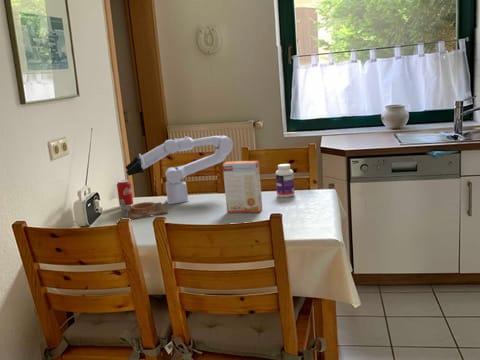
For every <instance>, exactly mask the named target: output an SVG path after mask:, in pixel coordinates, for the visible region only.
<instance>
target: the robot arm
mask: <svg viewBox="0 0 480 360" xmlns="http://www.w3.org/2000/svg"><path fill="white" fill-rule="evenodd" d="M210 145H211V146H213V147H216V148H215V151H214V153H213V154H211V155H207V156H204V157H202V158H200V159H197V160H194V161H192V162H189V163H187V164H184V165H179V166H175V167H174V166H171V167H168V168H167V169H166V170H165V173H164V175H165V177H166V178H165V180H166V181H165V190H166V191H165V192H166V199H165V202H166V203H167V205H174V204H180V203H186V202H189V195H188V188H187V183H186V181H182V180H183V179H184V178H186V177H188V176H189V175H192V174H195V173H197V172H199V171H202V170H205V169H207V168H210V167H213V166H215V165H217V164H220V163H222V162H224V160H225V159H226V157H227V156H228V155H229V154H230V153H231V152H232V150H233V147H234V142H233V140H232V139H231V138H230V137H228V136H227V135H223V134H222V135H212V136H205V137H201V138H199V137H198V138H194V139H193V138H192V137H190V136H188V135H187V136H184V137H181V138H177V137H176V138H173V139H166V140H165V141H164V142H163V143H162V144H160V145H157V146H155V148H153V149H151V150H149V151H148V152H145V153H144V154H141V153H139V154H138V156H139V157H138V156H137V155H136V156H135V157H134V158H133V160H132V161H131V162H129V163H128V164H127V165H126V166H125V168H126V171H125V172H126V175H127V176H128V177H129V176H133V175H136V174H143V173H145V169H147V168H149V167H150V166H152V165H153V164H155V163H156V162H159V161H160V160H162V159H164V158H165V157H166V156H168V155H170V154H175V153H176V152H184V151H189V150H190V151H191V150H192V149H194V147H201V146H210Z"/></svg>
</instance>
